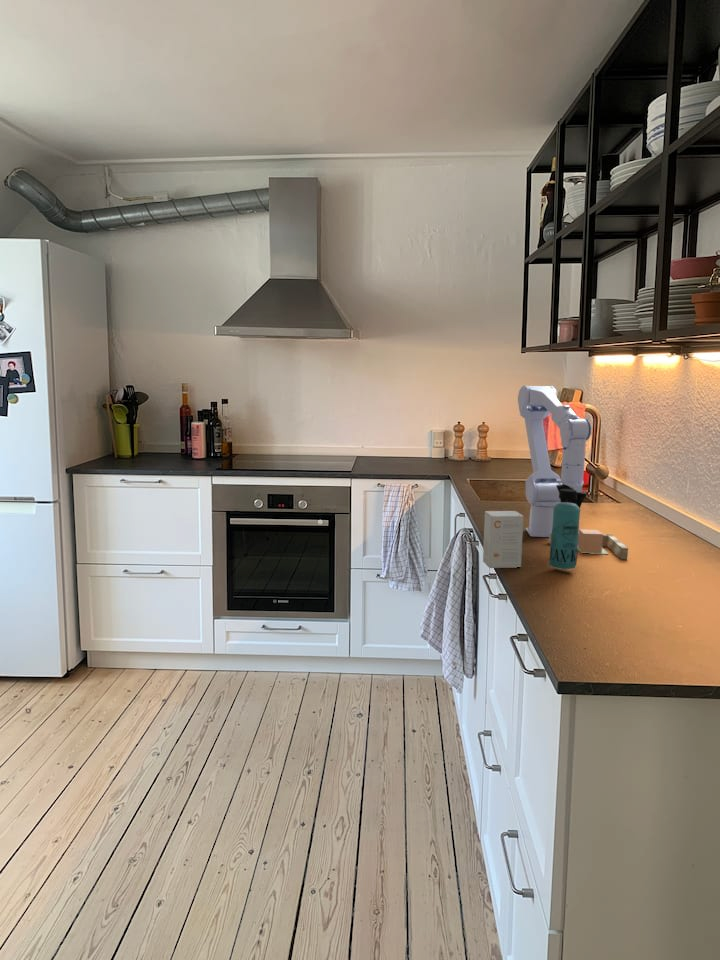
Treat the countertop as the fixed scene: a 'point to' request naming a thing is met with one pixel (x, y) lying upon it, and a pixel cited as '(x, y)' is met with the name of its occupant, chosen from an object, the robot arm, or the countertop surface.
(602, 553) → the pad
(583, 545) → the cube
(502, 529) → the small box
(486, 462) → the countertop surface
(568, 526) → the beverage bottle
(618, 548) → the l-shaped wall
